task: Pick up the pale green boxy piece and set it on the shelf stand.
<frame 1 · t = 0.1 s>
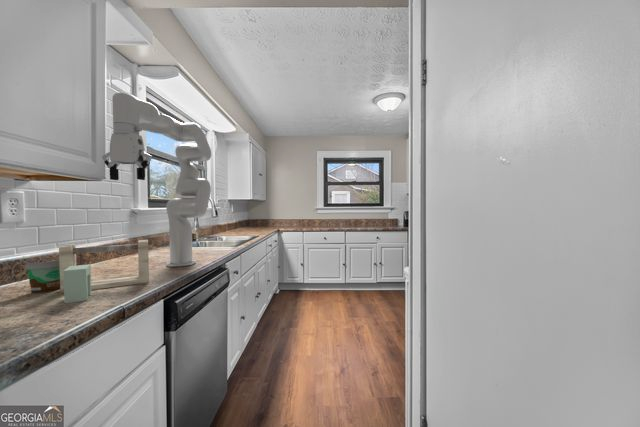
hand: (127, 179, 97), 37 cm above the countertop, tool pointing down, fingers open, 9 cm apart
pale green boxy piece: (78, 298, 83), on the countertop
shelf stand: (108, 285, 97), on the countertop
food container: (55, 289, 93), on the countertop
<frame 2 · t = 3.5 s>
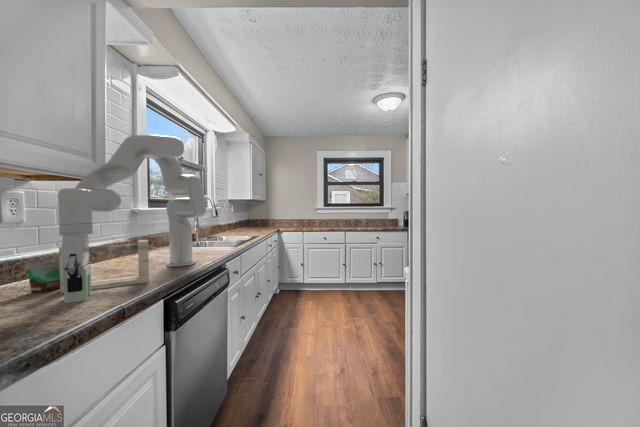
hand: (78, 287, 83), 3 cm above the countertop, tool pointing down, fingers closed on pale green boxy piece, 7 cm apart
pale green boxy piece: (78, 298, 83), on the countertop, touching gripper
everything else where it was.
when the fingers open (11 cm above the countertop, at t = 9.0 s): pale green boxy piece moves 1 cm, resting on shelf stand.
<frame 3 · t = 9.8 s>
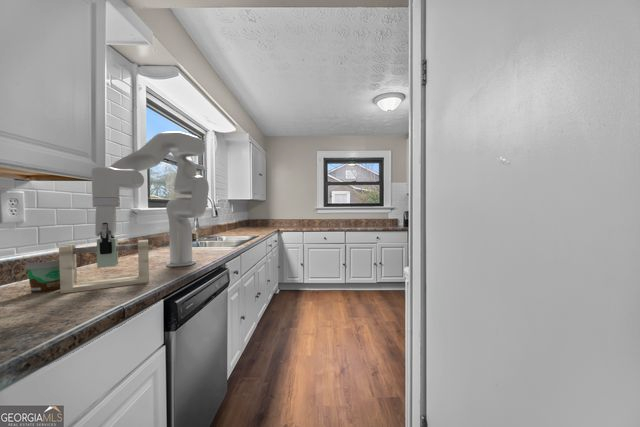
hand: (108, 251, 96), 12 cm above the countertop, tool pointing down, fingers open, 9 cm apart
pale green boxy piece: (108, 265, 96), point 7 cm above the countertop, touching shelf stand
everything else where it was.
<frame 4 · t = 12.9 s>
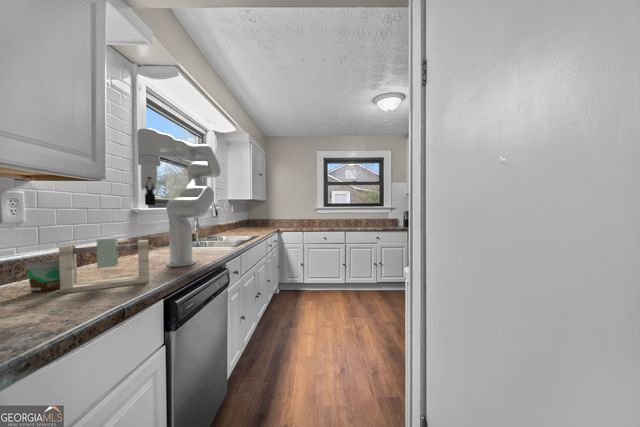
hand: (150, 204, 109), 28 cm above the countertop, tool pointing down, fingers open, 9 cm apart
nothing on the countertop moved.
at the end: pale green boxy piece 0.4 cm off-centre on the shelf stand, point 7.0 cm above the shelf stand's base; pale green boxy piece tilted 4°; the gripper is holding nothing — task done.
